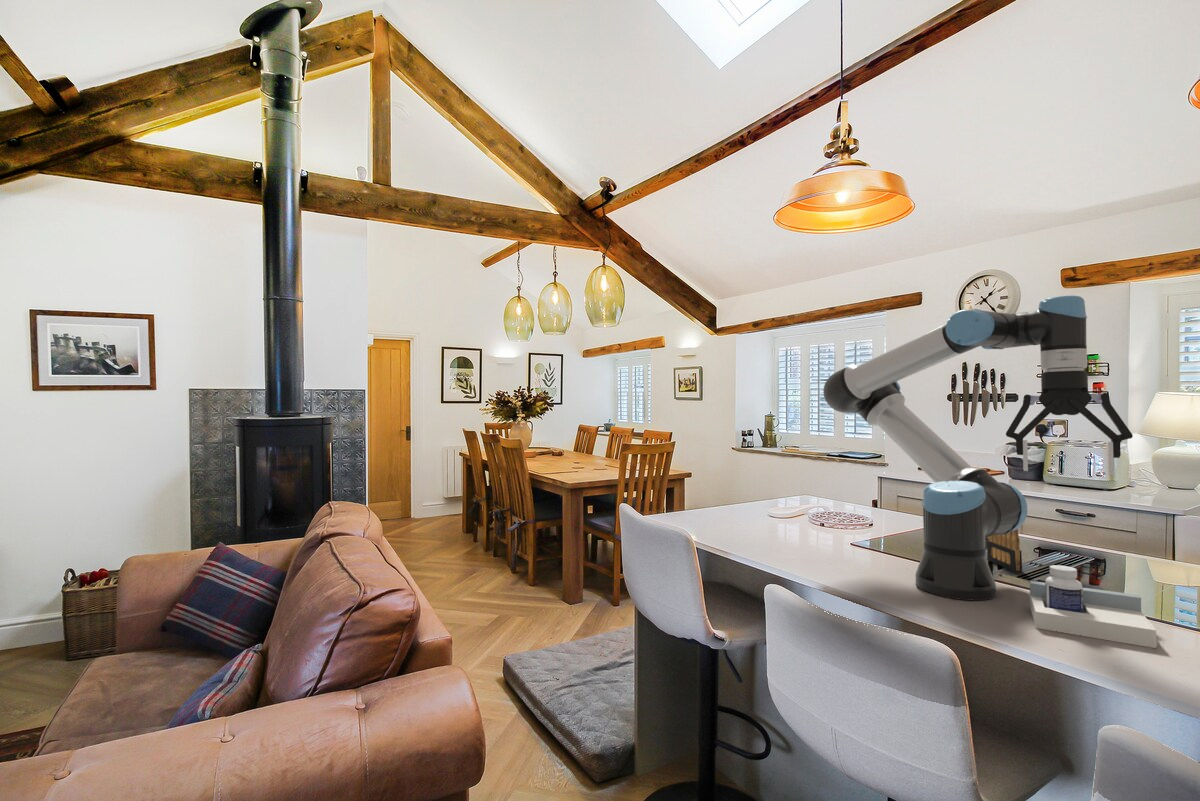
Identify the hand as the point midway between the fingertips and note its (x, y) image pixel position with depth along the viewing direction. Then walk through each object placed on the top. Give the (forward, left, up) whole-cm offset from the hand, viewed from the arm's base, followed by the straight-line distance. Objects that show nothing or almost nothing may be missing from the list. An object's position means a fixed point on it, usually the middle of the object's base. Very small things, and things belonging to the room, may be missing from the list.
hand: (1066, 472), depth 117 cm
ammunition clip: (-10, +24, -27) cm, 37 cm away
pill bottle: (-2, -15, -27) cm, 30 cm away
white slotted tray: (+1, -16, -27) cm, 31 cm away
